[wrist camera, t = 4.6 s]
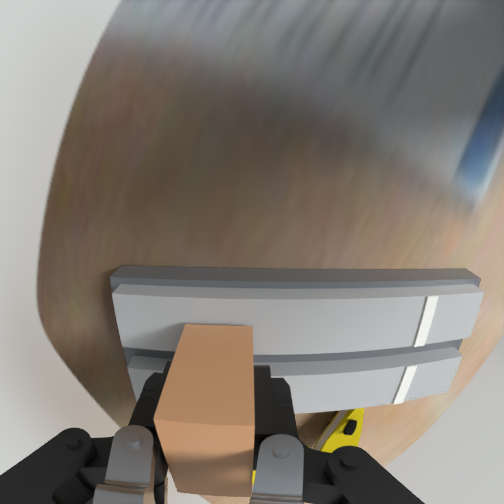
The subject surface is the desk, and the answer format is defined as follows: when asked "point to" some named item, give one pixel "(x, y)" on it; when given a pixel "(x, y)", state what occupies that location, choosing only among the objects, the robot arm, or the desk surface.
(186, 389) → the cap
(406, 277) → the fader track
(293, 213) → the desk surface
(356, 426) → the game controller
